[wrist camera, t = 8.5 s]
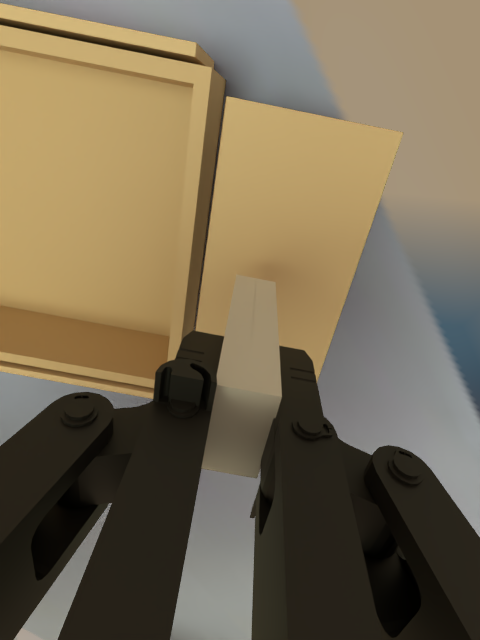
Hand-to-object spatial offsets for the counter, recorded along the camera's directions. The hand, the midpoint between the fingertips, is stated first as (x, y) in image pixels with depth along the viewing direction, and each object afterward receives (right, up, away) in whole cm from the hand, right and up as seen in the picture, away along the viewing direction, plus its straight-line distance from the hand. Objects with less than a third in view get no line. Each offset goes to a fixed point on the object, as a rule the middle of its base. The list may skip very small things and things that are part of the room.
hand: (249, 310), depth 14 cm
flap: (-2, +2, +2) cm, 4 cm away
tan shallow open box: (-13, +6, +7) cm, 16 cm away
